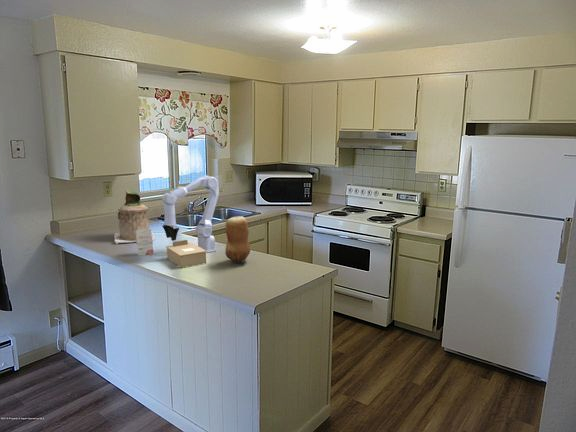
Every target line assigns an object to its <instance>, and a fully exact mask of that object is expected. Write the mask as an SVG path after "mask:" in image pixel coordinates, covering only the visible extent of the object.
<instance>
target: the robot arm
mask: <svg viewBox="0 0 576 432" xmlns="http://www.w3.org/2000/svg"><path fill="white" fill-rule="evenodd" d="M200 187H204V188H205V189H206V190H207V191H208V197H207V201H206V204H205V207H204V210H203V211H204V212H203V214H202V218H201V219H200V220H199V221H198V224H197V225H196V227H195V231H196V233H197V246H199V247H200V248H202V249H204V250H206V251H207V253H210V252H211V253H213V252H216V250H217V249H216V239H215V236H214V235H212V234H213V231H212V228H213V224H212V219H213V216H214V213H215V209H216V206H217V202H218V198H219V194H220V188H219V181H218V179H217V178H216V177H215V176H210V175H206V174H205V175H203V176H200V177H199V178H197V179H195V180H194V181H192V182H190V183H189V184H187V185H185V186H179V185H178V186H177V187H176V188H175V189H173V190H170V191H169V192H165V193H164V194H163V195H162V197H161V201H162V203H163V210H164V211H163V213H164V214H163V215H164V220H163V222H162V228H163V230H164V234H165V236H166V238H167V239H169V238H170V239H171V241H172V242H175V241H177V236H178V232H179V230H180V228H179V227H178V225H177V222H176V207H175V206H176V205H175V203H176V201H179V200H181V199H182V198H185V197H186V196H187V195H188V193H189V192H191V191H193V190H195V189H197V188H200Z"/></svg>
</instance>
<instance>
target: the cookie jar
mask: <svg viewBox="0 0 576 432" xmlns="http://www.w3.org/2000/svg"><path fill="white" fill-rule="evenodd" d="M124 200H125V203H124V204H123V205H122V206H120V207H118V212H117V219H118V220H119V221H118V224H119V226H118V229H119V232H115V233H114V234H113V235H114V243H115V244H116V245H118V244H125V243H126V244H127V243H137V239H136V235H137V234H136V230H148V229H150V224H149V218H148V210H149V207H148V206H146V205H144V204H142V203H140V202H141V196H140V194H138V193H137V191H135V190H125V198H124ZM141 233H146V232H145V231H143V232H141ZM151 233H152V239H153V242H154V241H155V239H156V237H155V235H154V233H153V231H152V230H151Z"/></svg>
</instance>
